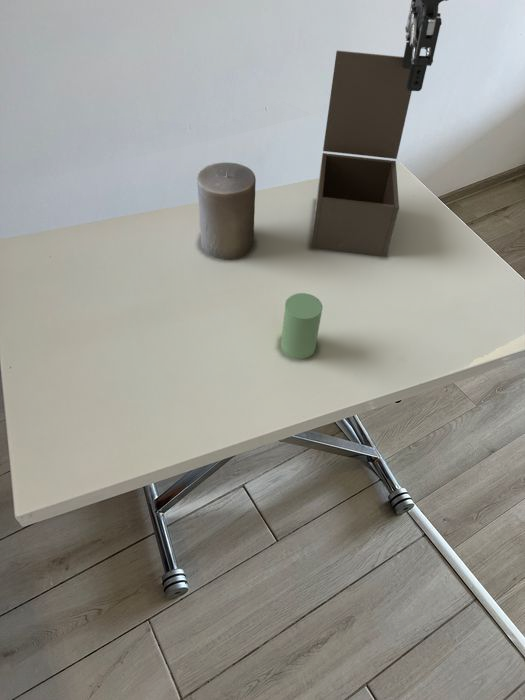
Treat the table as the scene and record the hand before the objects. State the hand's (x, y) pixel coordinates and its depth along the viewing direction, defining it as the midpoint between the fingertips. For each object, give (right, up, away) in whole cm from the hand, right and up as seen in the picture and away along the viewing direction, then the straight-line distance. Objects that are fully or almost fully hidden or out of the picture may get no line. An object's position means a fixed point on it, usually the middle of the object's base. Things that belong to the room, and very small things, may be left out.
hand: (410, 78), depth 84 cm
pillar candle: (-30, -24, +13) cm, 41 cm away
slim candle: (-18, -43, -4) cm, 47 cm away
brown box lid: (-5, -1, +8) cm, 10 cm away
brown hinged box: (-7, -20, +17) cm, 27 cm away
